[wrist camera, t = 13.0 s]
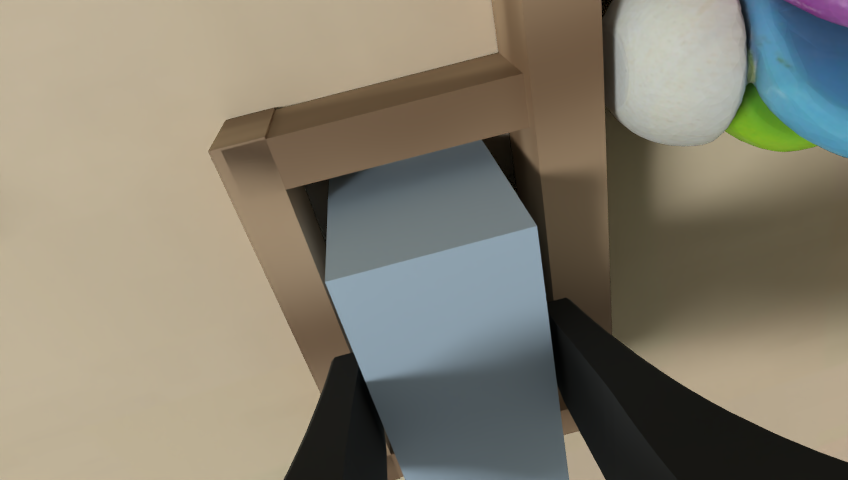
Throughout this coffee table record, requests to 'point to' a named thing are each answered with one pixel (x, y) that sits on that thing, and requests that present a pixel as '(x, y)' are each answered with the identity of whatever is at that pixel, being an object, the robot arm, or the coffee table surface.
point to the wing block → (448, 315)
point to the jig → (428, 132)
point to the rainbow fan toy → (729, 71)
